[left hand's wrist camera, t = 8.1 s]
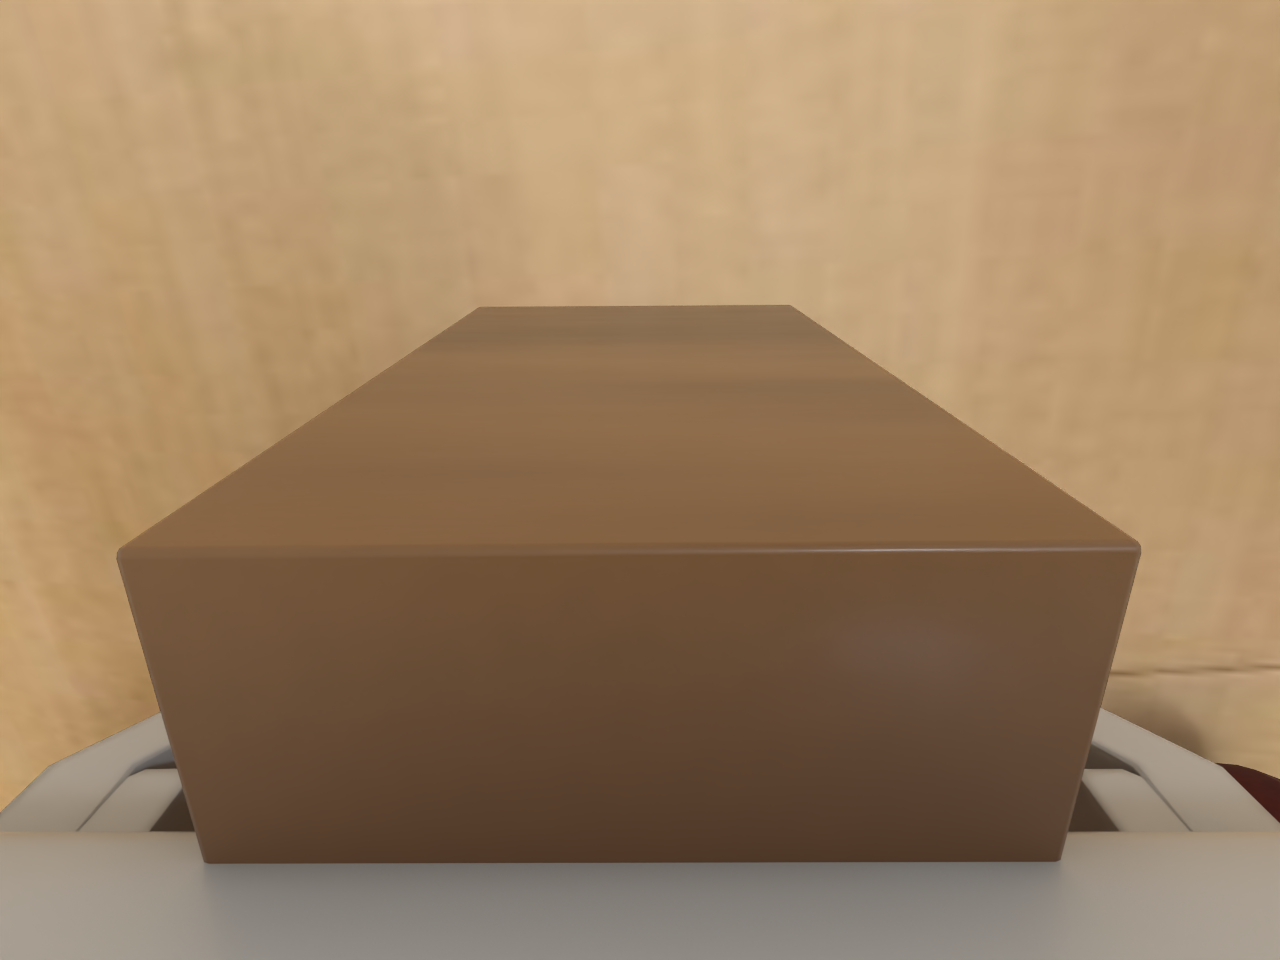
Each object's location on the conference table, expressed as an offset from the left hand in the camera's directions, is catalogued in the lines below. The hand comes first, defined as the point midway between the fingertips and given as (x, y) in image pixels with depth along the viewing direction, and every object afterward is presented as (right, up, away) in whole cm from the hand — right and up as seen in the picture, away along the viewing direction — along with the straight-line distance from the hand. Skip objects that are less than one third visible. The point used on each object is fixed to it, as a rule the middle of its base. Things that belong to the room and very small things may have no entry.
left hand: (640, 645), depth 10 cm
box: (0, -8, +8) cm, 11 cm away
